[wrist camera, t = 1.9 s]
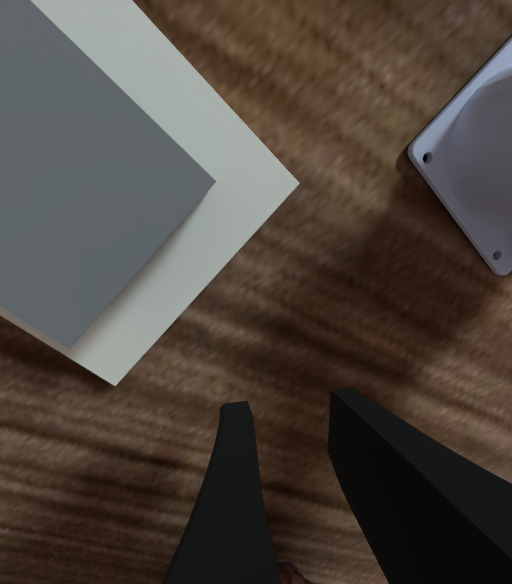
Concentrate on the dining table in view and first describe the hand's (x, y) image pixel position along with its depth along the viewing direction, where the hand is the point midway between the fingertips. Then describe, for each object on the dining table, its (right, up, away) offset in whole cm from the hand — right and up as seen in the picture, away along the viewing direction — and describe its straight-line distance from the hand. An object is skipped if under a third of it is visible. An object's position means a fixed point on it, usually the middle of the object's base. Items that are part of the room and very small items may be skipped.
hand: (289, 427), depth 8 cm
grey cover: (-7, +7, +3) cm, 11 cm away
